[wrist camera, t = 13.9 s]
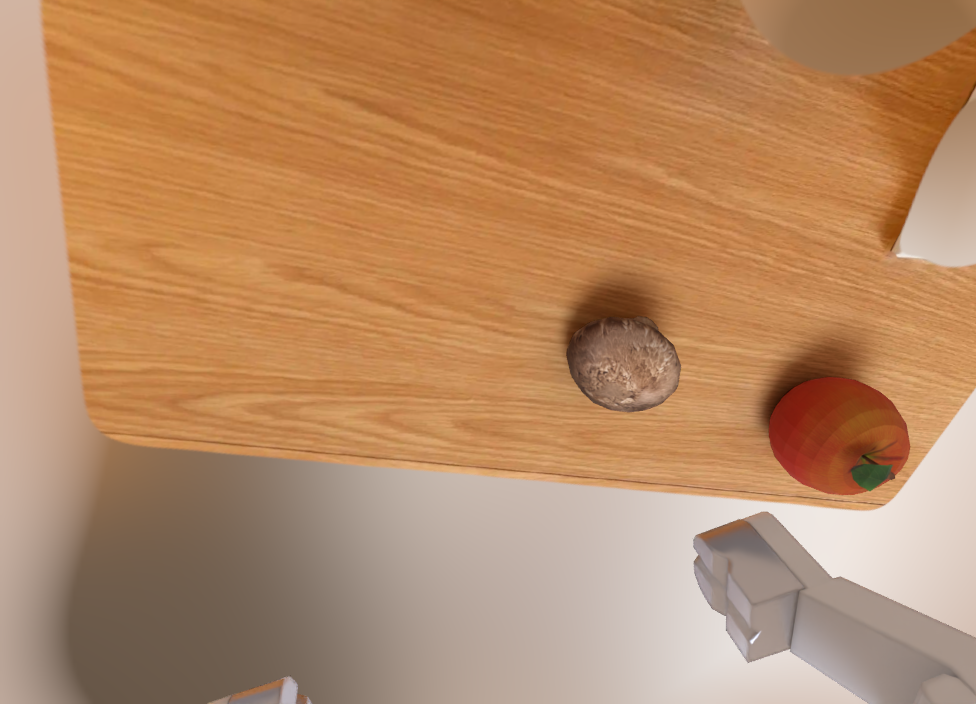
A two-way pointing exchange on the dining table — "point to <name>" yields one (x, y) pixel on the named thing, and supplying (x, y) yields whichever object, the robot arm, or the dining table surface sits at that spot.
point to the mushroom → (623, 363)
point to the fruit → (838, 436)
